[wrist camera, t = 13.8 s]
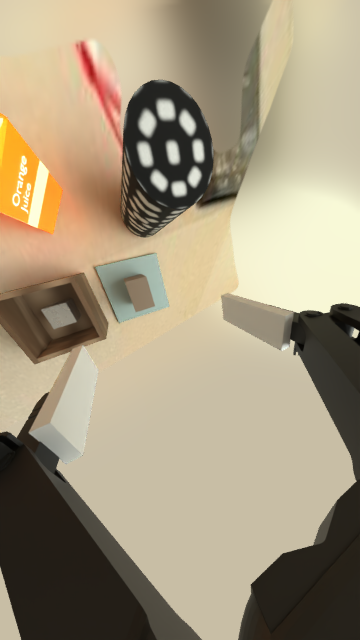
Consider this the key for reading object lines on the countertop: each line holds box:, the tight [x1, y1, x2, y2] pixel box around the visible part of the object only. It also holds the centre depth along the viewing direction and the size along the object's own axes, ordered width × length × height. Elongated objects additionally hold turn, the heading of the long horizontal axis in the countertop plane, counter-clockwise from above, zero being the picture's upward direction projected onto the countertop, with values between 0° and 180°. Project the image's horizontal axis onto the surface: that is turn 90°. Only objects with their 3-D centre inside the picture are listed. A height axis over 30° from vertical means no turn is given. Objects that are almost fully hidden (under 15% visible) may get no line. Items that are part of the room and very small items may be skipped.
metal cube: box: [41, 298, 81, 329], centre depth 29 cm, size 4×4×4 cm
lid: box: [95, 253, 169, 323], centre depth 32 cm, size 13×13×8 cm
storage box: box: [0, 273, 108, 364], centre depth 28 cm, size 12×12×8 cm
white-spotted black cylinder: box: [121, 80, 213, 237], centre depth 22 cm, size 8×8×20 cm
